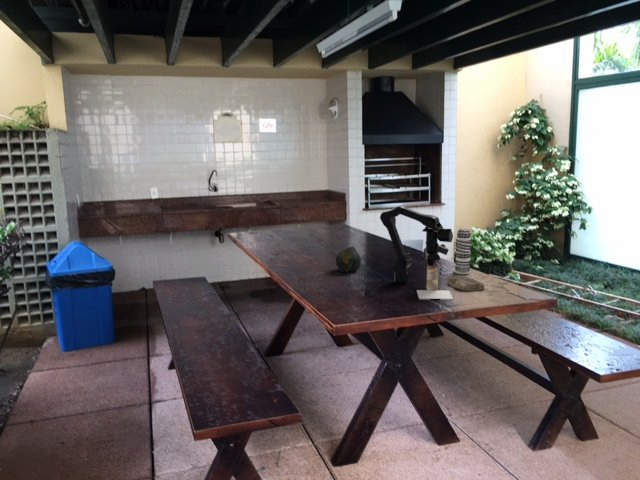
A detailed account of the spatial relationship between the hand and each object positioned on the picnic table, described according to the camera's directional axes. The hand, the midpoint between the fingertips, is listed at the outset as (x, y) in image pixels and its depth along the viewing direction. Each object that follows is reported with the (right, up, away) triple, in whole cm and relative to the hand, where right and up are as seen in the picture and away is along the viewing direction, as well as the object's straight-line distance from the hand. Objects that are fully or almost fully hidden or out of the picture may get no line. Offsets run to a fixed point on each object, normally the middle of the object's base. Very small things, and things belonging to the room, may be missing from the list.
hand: (430, 270), depth 275 cm
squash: (-41, -3, +37) cm, 55 cm away
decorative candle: (+24, -3, +30) cm, 39 cm away
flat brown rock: (+17, -9, +1) cm, 19 cm away
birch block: (-1, -10, -5) cm, 11 cm away
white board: (-2, -12, -15) cm, 19 cm away
